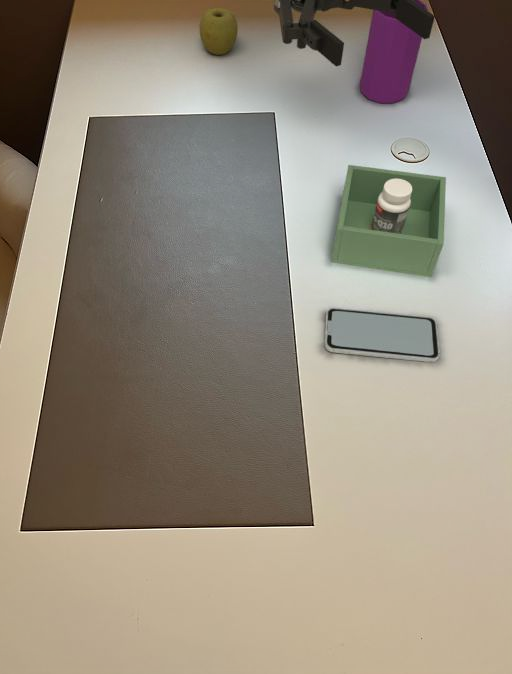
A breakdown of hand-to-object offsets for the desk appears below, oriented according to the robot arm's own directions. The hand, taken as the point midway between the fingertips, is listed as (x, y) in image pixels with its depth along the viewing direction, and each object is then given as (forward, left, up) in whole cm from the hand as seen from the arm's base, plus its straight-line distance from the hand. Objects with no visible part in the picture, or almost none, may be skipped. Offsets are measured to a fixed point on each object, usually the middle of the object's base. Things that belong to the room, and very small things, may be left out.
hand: (386, 41), depth 78 cm
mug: (-2, -38, -26) cm, 46 cm away
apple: (+32, -43, -26) cm, 59 cm away
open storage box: (-5, +5, -26) cm, 27 cm away
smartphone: (-6, +25, -26) cm, 37 cm away
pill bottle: (-6, +5, -26) cm, 27 cm away
